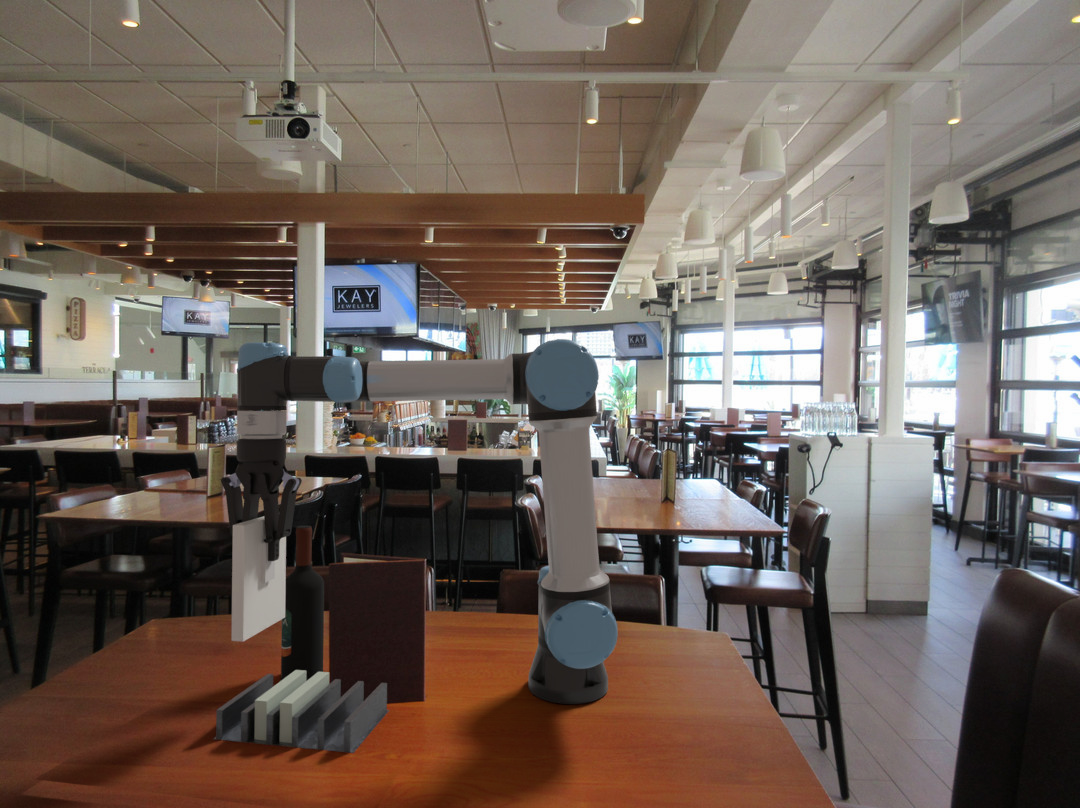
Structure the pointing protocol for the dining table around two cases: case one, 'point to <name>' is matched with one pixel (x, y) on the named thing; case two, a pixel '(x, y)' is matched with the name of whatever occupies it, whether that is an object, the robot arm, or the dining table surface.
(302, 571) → the wine bottle
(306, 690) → the offcut
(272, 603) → the tall sheet
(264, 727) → the offcut
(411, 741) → the dining table surface
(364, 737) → the rack
